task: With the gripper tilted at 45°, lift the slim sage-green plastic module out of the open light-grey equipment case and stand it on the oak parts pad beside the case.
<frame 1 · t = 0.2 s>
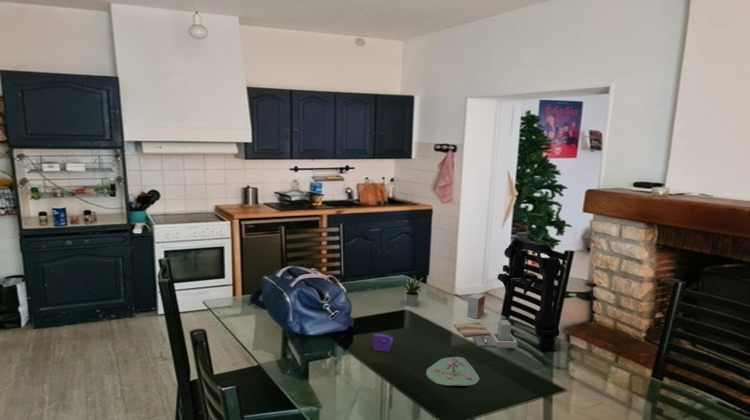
hand: (516, 294, 239), 15 cm above the table, tool pointing down, fingers open, 9 cm apart
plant: (452, 373, 192), on the table
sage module: (504, 332, 218), in the equipment case
small box: (475, 316, 250), on the table
house plant: (409, 304, 263), on the table
oak parts pad: (472, 330, 231), on the table
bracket: (383, 346, 213), on the table
equipment case: (503, 342, 219), on the table
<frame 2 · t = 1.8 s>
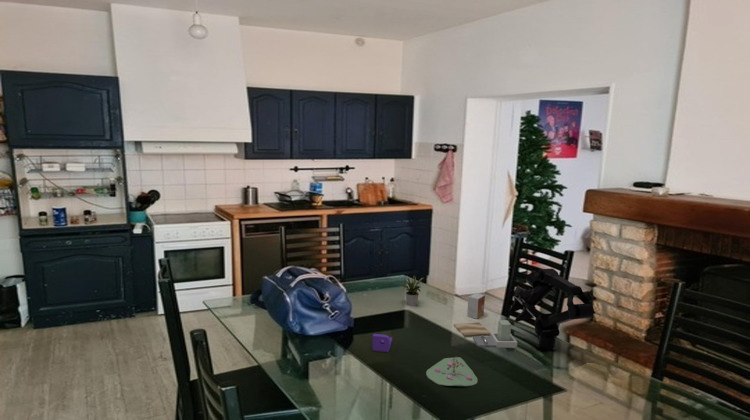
hand: (511, 317, 217), 12 cm above the table, tool tilted 45°, fingers open, 9 cm apart
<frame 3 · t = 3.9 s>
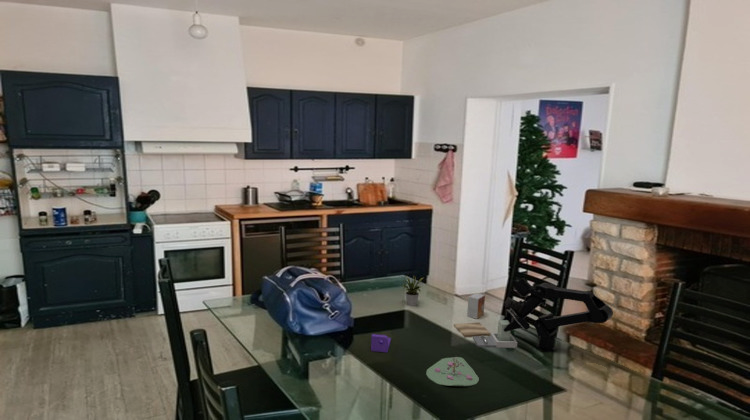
hand: (502, 328, 218), 7 cm above the table, tool tilted 45°, fingers closed on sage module, 5 cm apart
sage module: (503, 332, 218), in the equipment case, touching gripper
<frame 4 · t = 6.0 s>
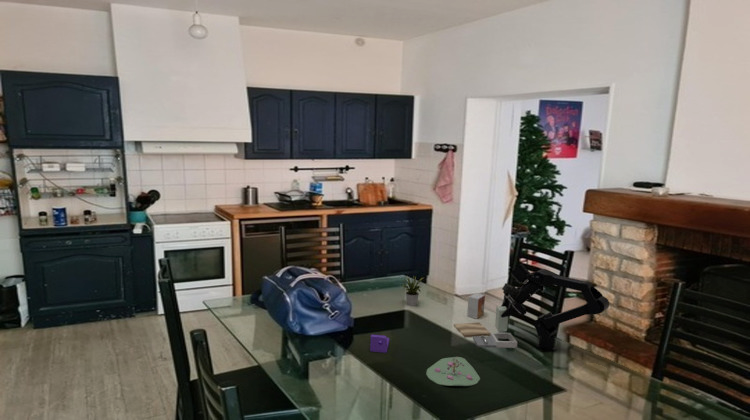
hand: (499, 314, 218), 12 cm above the table, tool tilted 45°, fingers closed on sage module, 5 cm apart
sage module: (501, 318, 218), point 11 cm above the table, touching gripper
when the fingers open (8 cm above the table, at t = 8.5 s): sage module stays where it is, resting on oak parts pad.
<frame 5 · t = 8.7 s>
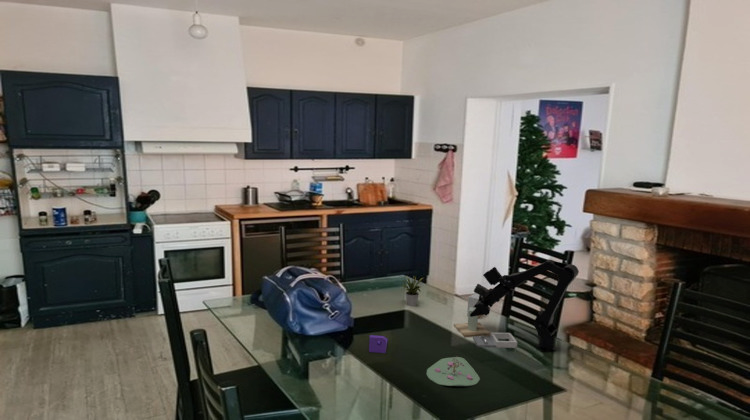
hand: (471, 313, 230), 9 cm above the table, tool tilted 45°, fingers open, 7 cm apart
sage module: (473, 319, 230), on the oak parts pad, point 6 cm above the table
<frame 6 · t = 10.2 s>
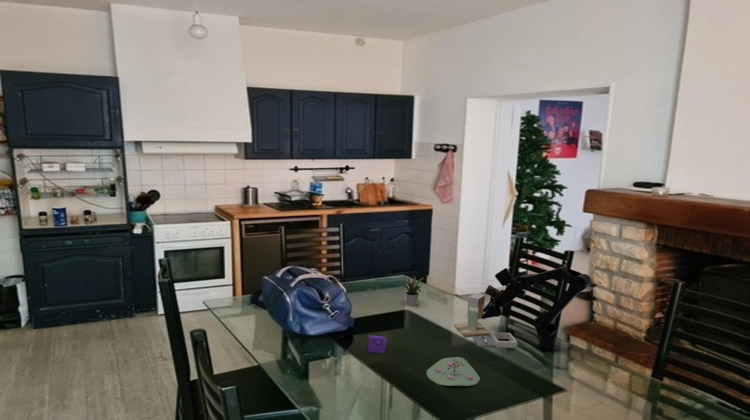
hand: (482, 314, 228), 9 cm above the table, tool tilted 45°, fingers open, 9 cm apart
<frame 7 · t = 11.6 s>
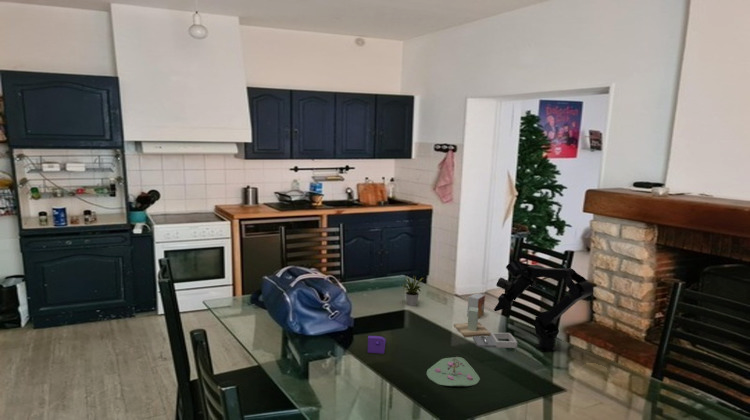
hand: (497, 307, 230), 11 cm above the table, tool tilted 40°, fingers open, 9 cm apart
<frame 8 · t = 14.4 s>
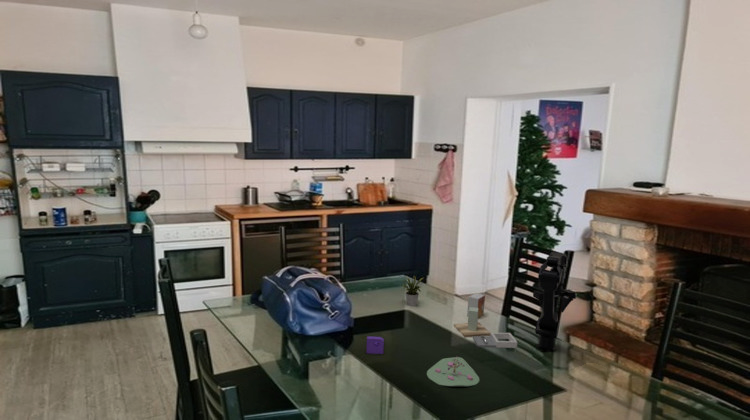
hand: (552, 312, 227), 11 cm above the table, tool pointing down, fingers open, 9 cm apart
at the end: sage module inside the target area on the oak parts pad (0.1 cm from its centre), point 5.7 cm above the oak parts pad's base; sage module tilted 0°; the gripper is holding nothing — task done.
